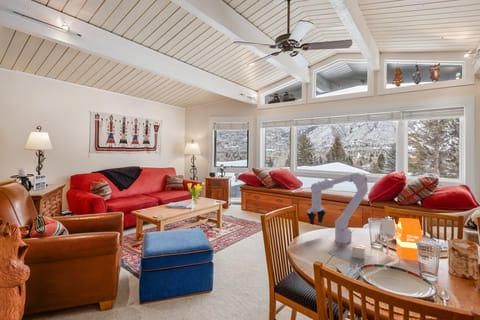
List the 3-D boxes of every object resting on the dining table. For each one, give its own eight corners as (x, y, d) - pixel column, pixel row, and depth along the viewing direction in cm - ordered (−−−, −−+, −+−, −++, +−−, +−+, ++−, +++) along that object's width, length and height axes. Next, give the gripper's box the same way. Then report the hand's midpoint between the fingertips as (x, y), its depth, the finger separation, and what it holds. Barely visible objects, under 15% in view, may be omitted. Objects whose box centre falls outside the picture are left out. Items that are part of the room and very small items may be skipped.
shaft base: (344, 248, 134) (344, 241, 134) (373, 259, 121) (373, 250, 121) (326, 254, 125) (326, 246, 125) (354, 266, 112) (355, 258, 112)
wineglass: (393, 254, 127) (394, 217, 126) (398, 260, 119) (399, 220, 119) (377, 252, 129) (378, 215, 129) (380, 258, 122) (381, 219, 122)
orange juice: (421, 260, 119) (422, 221, 119) (401, 258, 122) (402, 219, 121) (415, 254, 127) (415, 217, 126) (396, 252, 129) (396, 215, 129)
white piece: (352, 253, 125) (352, 243, 125) (364, 255, 123) (364, 245, 122) (352, 256, 120) (352, 246, 120) (364, 259, 118) (364, 248, 118)
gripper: (318, 199, 158) (318, 220, 158) (303, 202, 150) (303, 223, 150) (327, 201, 152) (327, 222, 152) (312, 204, 144) (312, 226, 144)
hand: (316, 223), depth 151 cm, fingers open, 7 cm apart
